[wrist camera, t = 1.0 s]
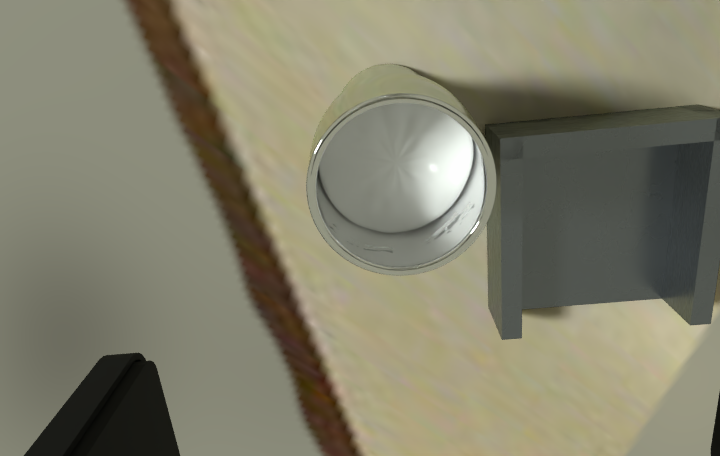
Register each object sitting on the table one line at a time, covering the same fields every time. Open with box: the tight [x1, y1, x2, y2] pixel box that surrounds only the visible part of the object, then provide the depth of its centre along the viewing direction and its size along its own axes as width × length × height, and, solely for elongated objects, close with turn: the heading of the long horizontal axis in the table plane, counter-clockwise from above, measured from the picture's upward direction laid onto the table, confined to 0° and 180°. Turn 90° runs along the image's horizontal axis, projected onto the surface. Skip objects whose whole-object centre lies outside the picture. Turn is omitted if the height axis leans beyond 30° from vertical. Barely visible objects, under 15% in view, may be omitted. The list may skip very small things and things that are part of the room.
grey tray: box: [485, 105, 720, 340], centre depth 33 cm, size 12×12×4 cm
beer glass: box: [306, 64, 497, 276], centre depth 26 cm, size 7×7×15 cm
